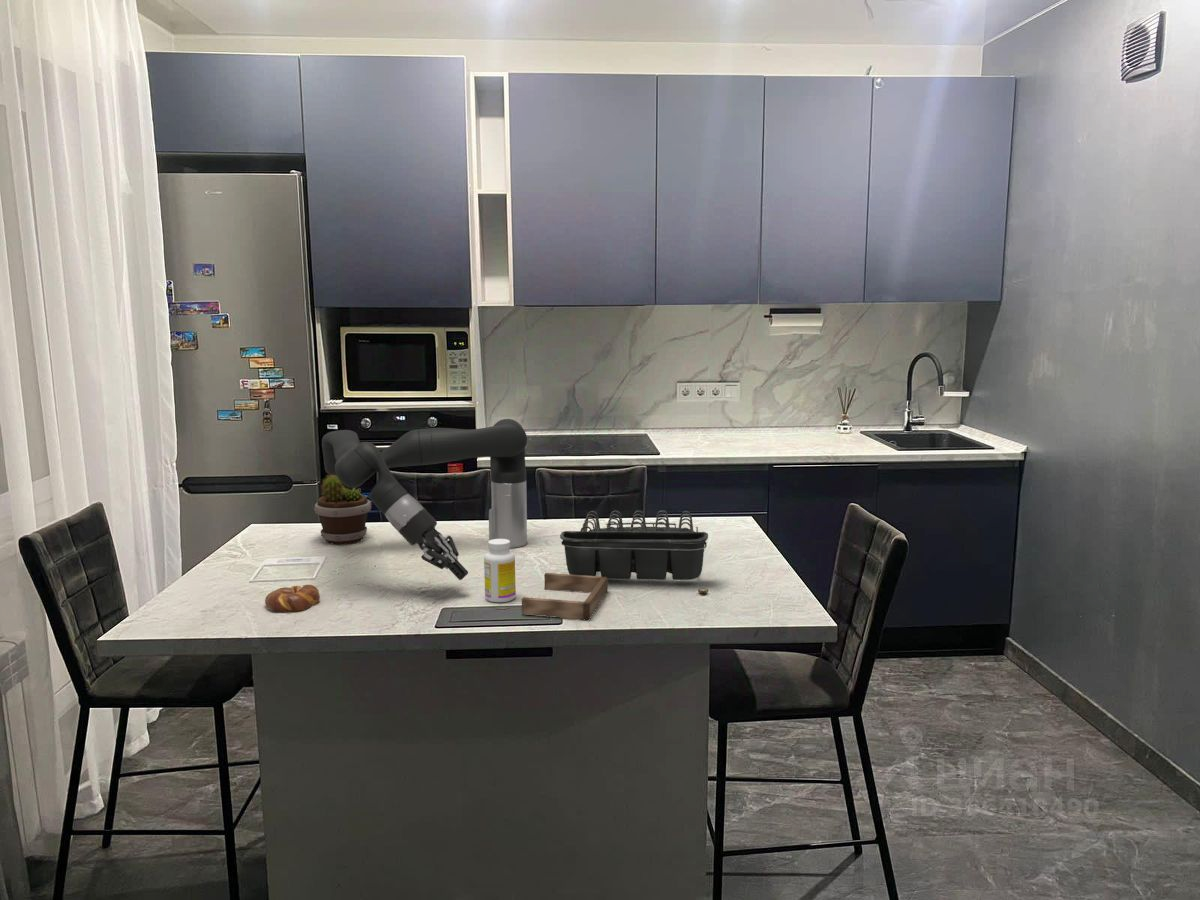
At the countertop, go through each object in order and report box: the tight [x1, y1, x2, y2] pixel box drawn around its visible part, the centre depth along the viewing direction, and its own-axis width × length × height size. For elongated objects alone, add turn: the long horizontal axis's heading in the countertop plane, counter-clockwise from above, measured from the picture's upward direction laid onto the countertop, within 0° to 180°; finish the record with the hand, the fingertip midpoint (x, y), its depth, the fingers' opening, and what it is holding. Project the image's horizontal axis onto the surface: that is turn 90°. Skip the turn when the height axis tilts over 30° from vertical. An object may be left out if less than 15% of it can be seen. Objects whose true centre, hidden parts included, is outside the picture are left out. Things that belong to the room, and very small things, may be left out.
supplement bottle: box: [483, 539, 517, 603], centre depth 193 cm, size 7×7×13 cm
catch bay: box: [521, 572, 609, 621], centre depth 191 cm, size 14×18×4 cm
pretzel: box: [264, 584, 321, 613], centre depth 190 cm, size 12×11×4 cm
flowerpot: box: [313, 473, 372, 546], centre depth 239 cm, size 14×15×20 cm
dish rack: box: [559, 510, 709, 581], centre depth 222 cm, size 34×44×12 cm
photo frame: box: [248, 555, 327, 584], centre depth 214 cm, size 15×1×18 cm
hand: (464, 576), depth 195 cm, fingers closed
